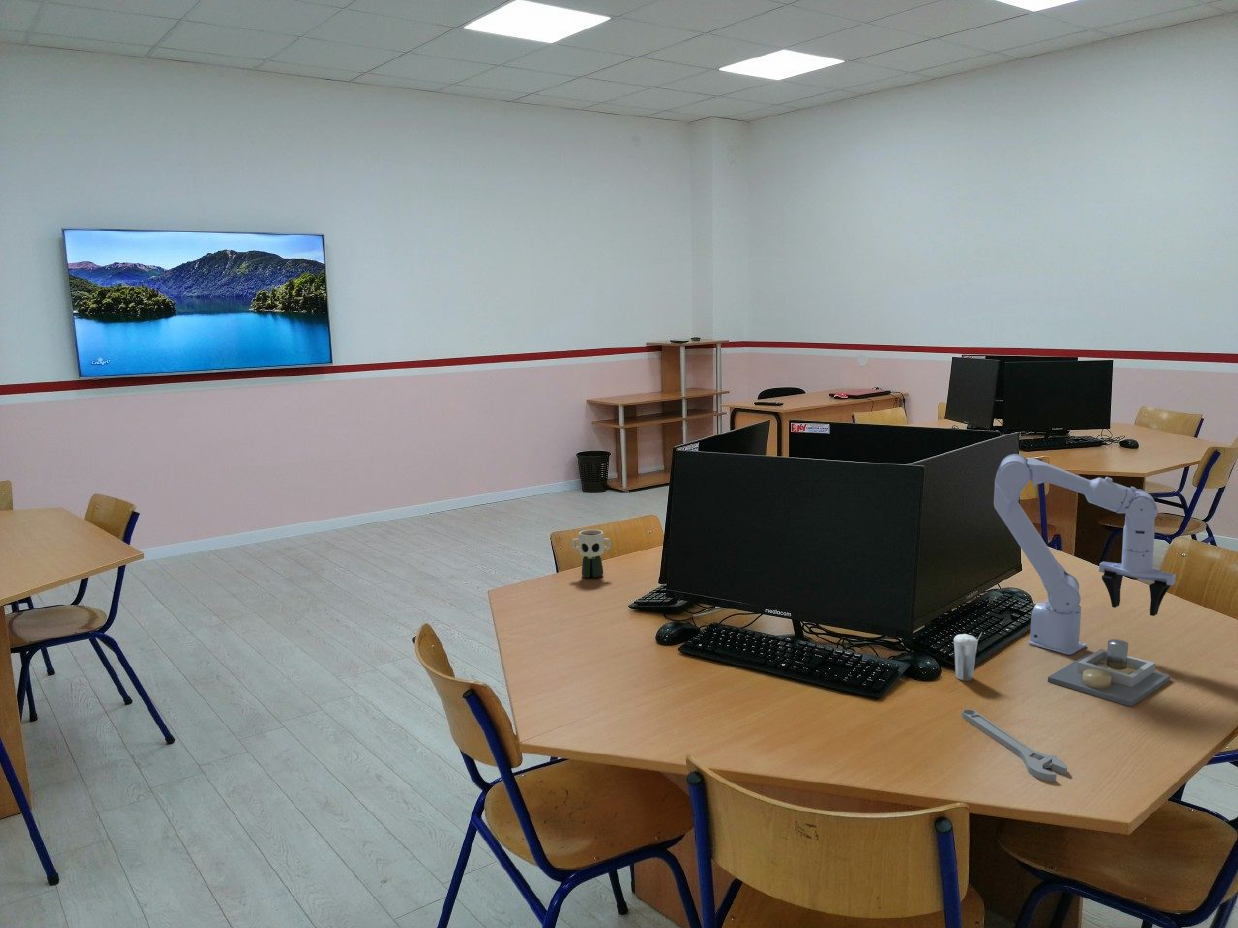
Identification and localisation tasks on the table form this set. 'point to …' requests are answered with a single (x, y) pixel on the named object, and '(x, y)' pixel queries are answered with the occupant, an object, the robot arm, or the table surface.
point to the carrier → (1110, 679)
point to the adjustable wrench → (1019, 748)
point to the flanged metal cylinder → (1117, 657)
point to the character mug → (591, 551)
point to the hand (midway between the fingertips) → (1134, 610)
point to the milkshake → (965, 656)
